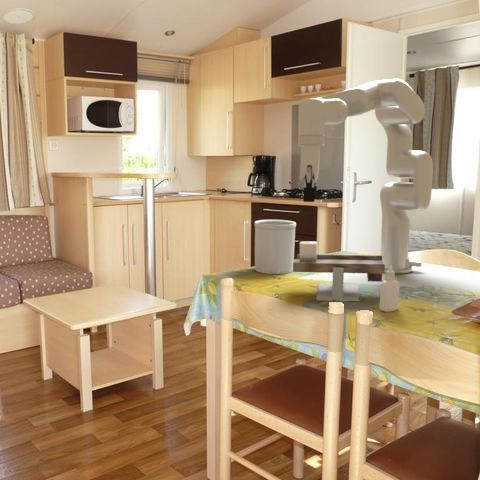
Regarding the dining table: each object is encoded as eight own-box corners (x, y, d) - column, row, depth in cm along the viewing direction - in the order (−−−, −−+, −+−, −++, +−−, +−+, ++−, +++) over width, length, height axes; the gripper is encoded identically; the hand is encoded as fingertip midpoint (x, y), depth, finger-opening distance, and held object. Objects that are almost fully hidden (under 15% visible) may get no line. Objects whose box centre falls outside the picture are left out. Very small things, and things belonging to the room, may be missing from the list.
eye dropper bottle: (376, 307, 161) (377, 265, 159) (396, 307, 161) (397, 264, 159) (381, 312, 157) (383, 268, 155) (401, 311, 157) (403, 268, 155)
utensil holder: (299, 267, 214) (300, 220, 211) (289, 276, 200) (290, 225, 197) (261, 265, 219) (261, 218, 216) (248, 273, 205) (248, 223, 202)
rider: (317, 260, 178) (317, 241, 178) (316, 263, 174) (316, 244, 173) (301, 260, 179) (301, 241, 178) (299, 263, 175) (299, 243, 174)
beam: (381, 273, 180) (382, 255, 179) (384, 284, 166) (384, 264, 165) (297, 271, 184) (297, 254, 184) (293, 281, 171) (293, 262, 170)
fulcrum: (357, 287, 183) (358, 258, 182) (358, 302, 167) (359, 269, 165) (319, 286, 185) (320, 256, 184) (316, 300, 169) (317, 267, 167)
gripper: (300, 142, 180) (299, 197, 182) (295, 141, 163) (294, 202, 166) (325, 142, 178) (324, 197, 181) (322, 141, 161) (321, 203, 164)
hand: (310, 200), depth 173 cm, fingers open, 9 cm apart
